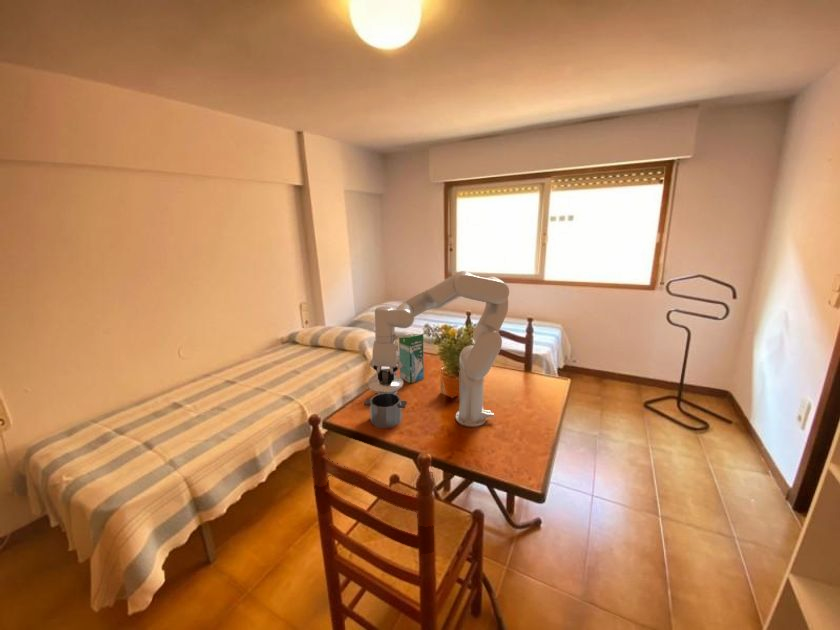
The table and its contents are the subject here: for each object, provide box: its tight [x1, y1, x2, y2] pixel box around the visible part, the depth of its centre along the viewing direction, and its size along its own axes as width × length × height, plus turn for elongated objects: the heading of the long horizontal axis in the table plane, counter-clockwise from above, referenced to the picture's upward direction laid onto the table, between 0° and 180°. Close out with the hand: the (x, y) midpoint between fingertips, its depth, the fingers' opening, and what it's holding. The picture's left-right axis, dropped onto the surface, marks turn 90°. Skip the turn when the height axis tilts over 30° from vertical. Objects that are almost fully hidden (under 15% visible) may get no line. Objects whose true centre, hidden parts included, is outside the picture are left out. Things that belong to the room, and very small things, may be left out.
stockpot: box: [363, 393, 408, 429], centre depth 140 cm, size 17×13×9 cm
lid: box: [368, 369, 404, 393], centre depth 136 cm, size 14×14×7 cm
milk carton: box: [398, 332, 425, 384], centre depth 177 cm, size 9×9×25 cm
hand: (386, 381), depth 136 cm, fingers closed on lid, 3 cm apart
